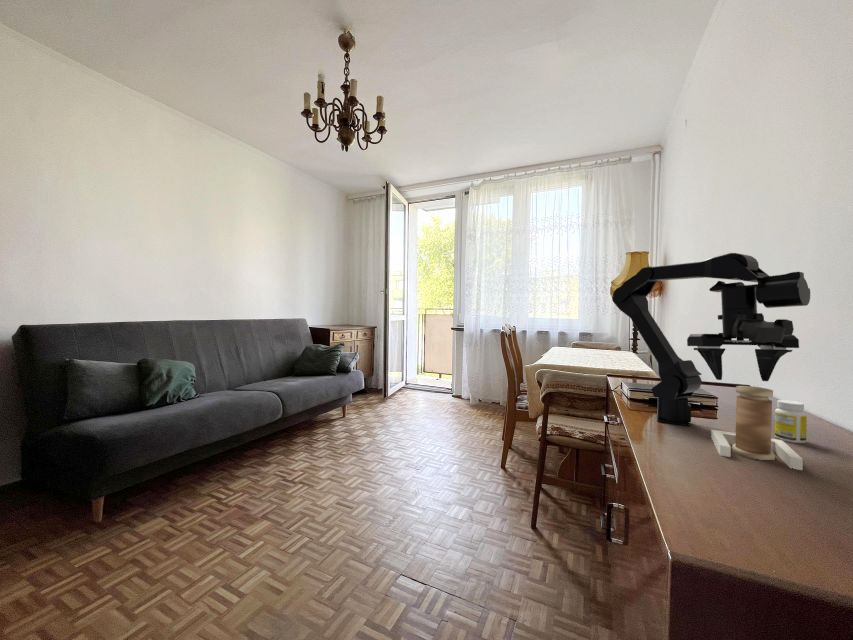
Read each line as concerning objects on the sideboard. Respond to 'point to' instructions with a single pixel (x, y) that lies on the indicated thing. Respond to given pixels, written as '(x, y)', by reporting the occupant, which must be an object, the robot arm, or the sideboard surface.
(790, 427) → the supplement bottle
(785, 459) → the white u-shaped piece
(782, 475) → the sideboard surface
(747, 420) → the bobbin
